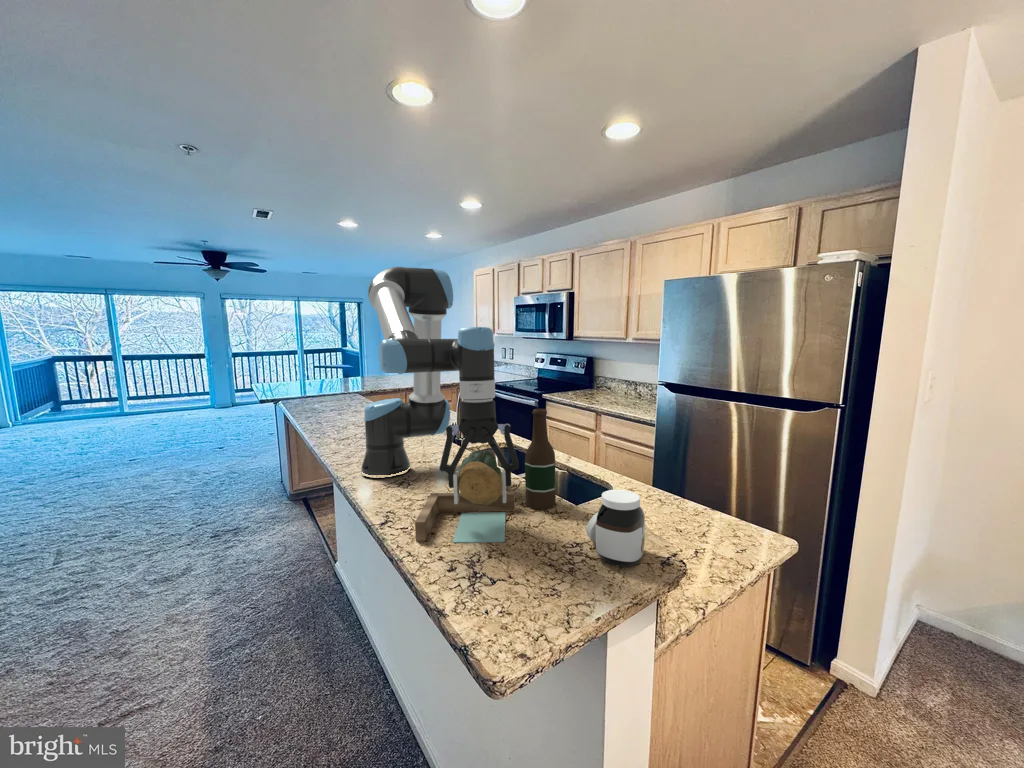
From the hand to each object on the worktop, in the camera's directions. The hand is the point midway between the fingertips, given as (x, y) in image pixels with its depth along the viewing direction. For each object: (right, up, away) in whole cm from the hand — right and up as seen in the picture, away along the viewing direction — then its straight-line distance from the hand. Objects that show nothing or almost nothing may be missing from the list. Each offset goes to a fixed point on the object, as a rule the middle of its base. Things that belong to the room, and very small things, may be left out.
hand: (480, 501), depth 87 cm
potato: (0, 0, 0) cm, 0 cm away
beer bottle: (+14, -5, +13) cm, 19 cm away
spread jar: (+26, -6, -11) cm, 29 cm away
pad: (0, -6, +1) cm, 6 cm away
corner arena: (-3, -6, +3) cm, 7 cm away
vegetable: (-1, -4, +23) cm, 24 cm away
